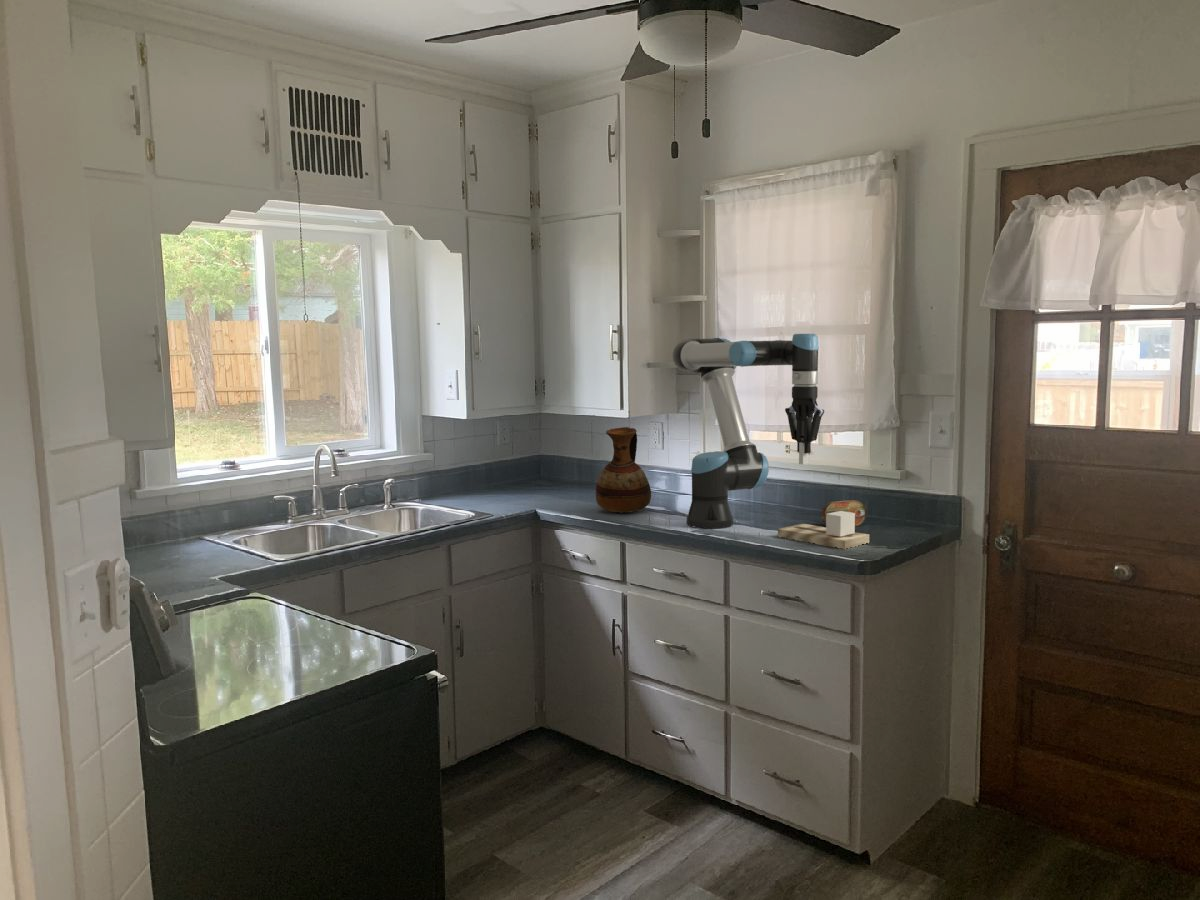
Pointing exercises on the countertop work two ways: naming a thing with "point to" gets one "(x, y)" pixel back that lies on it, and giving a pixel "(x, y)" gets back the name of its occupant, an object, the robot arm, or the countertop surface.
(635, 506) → the ceramic pitcher
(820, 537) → the beige flat block
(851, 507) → the tin
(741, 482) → the robot arm
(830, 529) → the fader tab
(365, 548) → the countertop surface
